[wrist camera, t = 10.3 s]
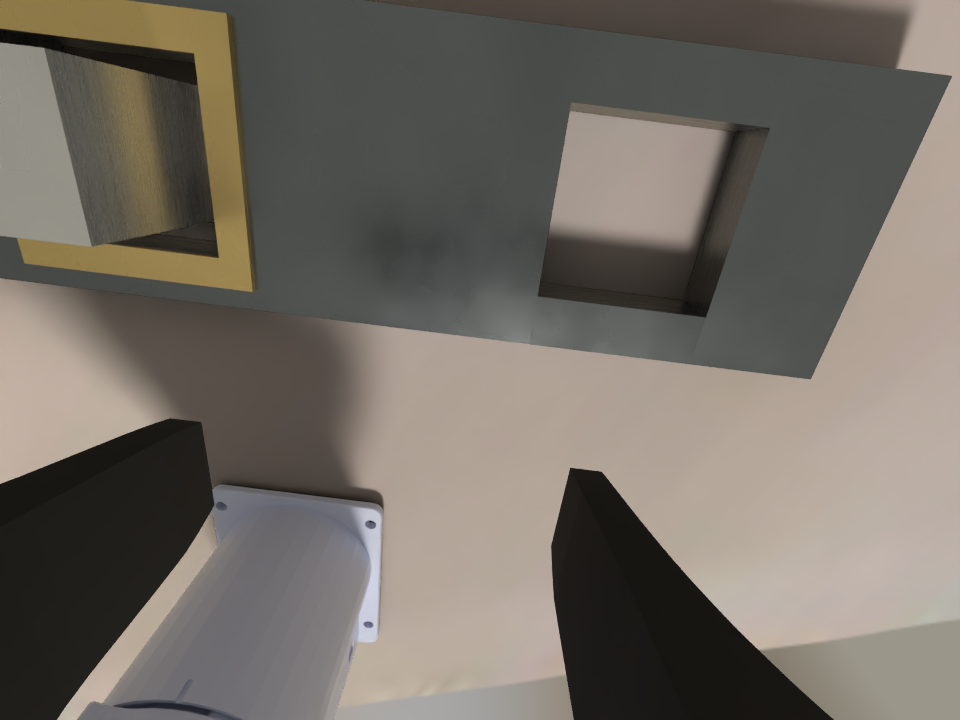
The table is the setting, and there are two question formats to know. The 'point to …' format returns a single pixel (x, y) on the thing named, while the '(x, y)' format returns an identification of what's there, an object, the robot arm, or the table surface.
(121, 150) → the steel block
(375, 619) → the robot arm
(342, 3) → the grey slotted board
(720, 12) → the table surface
